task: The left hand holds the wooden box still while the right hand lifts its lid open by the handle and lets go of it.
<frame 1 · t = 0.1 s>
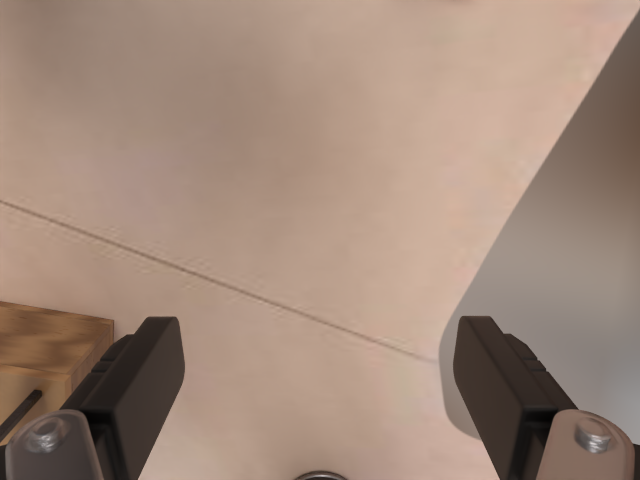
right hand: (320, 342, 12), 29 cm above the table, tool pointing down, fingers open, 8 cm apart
wooden box: (43, 343, 46), on the table
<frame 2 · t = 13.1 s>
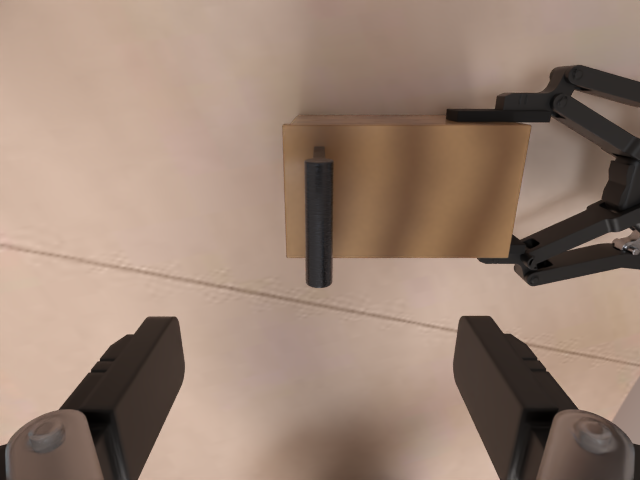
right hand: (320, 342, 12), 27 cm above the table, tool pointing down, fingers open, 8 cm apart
wooden box: (383, 168, 37), on the table, touching left hand
lid: (411, 208, 25), point 13 cm above the table, hinge at 0.0°
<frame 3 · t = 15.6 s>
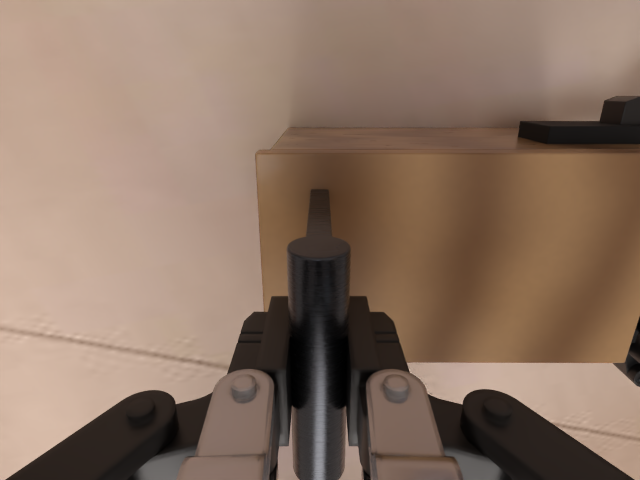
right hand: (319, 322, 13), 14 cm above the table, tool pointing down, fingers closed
wooden box: (411, 202, 26), on the table, touching left hand
lid: (486, 306, 14), point 13 cm above the table, hinge at -0.1°, touching right hand
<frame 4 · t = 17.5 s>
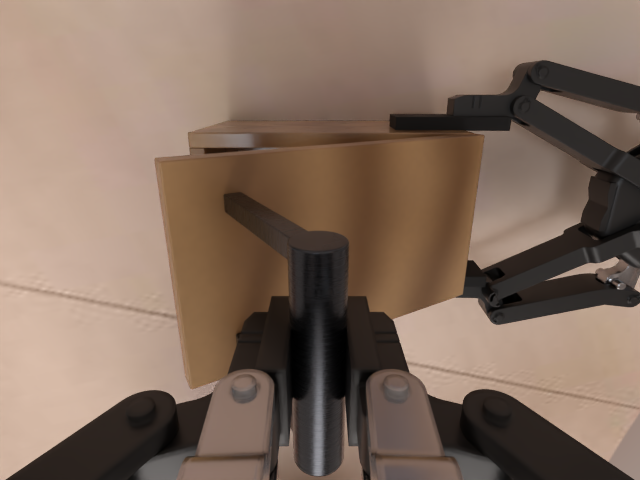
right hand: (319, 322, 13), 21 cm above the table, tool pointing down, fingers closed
left hand: (388, 202, 26), fingers closed on wooden box, 9 cm apart
wooden box: (330, 181, 32), on the table, touching left hand
lid: (399, 271, 16), point 17 cm above the table, hinge at 32.3°, touching right hand
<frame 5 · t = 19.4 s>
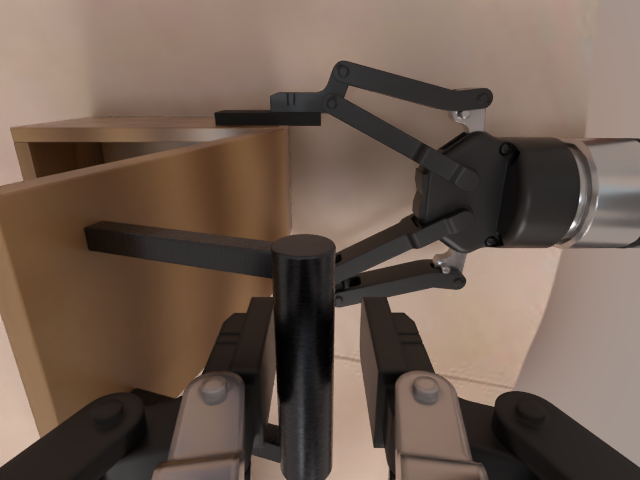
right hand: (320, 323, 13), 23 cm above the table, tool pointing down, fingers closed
left hand: (226, 193, 28), fingers closed on wooden box, 9 cm apart
wooden box: (196, 175, 34), on the table, touching left hand
lid: (279, 266, 17), point 18 cm above the table, hinge at 71.5°
when the left hand's fingers open (6 cm above the table, at t = 23.2 s): wooden box stays where it is, on the table.
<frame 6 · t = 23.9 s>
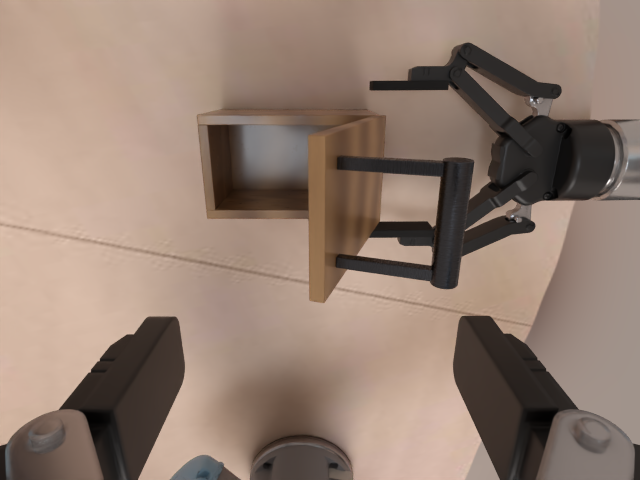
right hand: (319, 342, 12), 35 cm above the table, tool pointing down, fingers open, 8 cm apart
left hand: (368, 162, 39), fingers open, 13 cm apart
wooden box: (295, 153, 45), on the table
lid: (404, 195, 27), point 18 cm above the table, hinge at 70.9°
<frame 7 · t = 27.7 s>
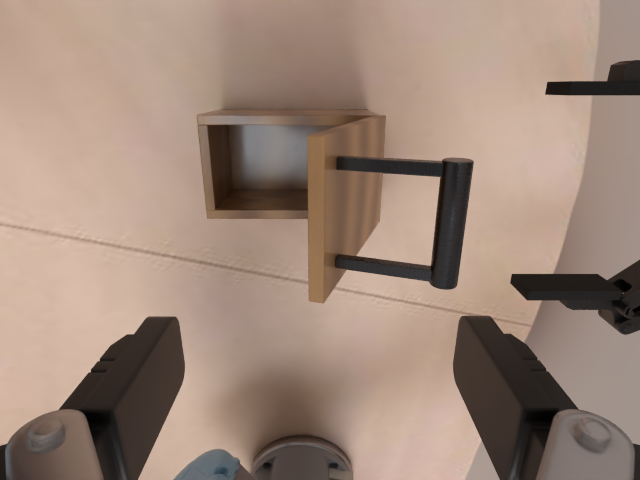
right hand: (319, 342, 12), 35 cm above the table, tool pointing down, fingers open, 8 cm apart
wooden box: (295, 153, 45), on the table
lid: (404, 195, 27), point 18 cm above the table, hinge at 70.9°
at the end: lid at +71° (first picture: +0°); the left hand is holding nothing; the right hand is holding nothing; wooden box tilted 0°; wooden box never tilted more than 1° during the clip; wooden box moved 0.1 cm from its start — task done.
